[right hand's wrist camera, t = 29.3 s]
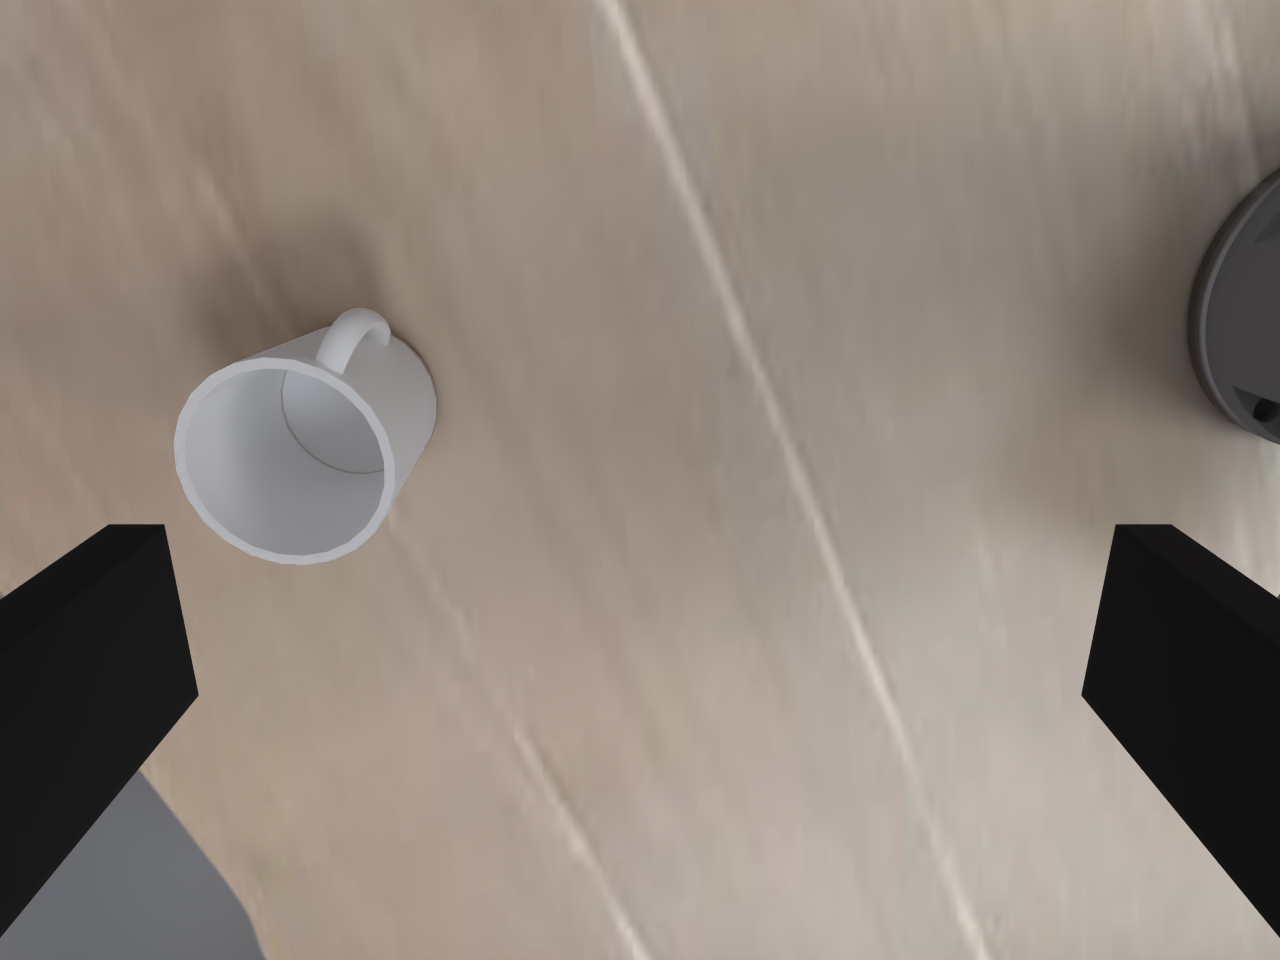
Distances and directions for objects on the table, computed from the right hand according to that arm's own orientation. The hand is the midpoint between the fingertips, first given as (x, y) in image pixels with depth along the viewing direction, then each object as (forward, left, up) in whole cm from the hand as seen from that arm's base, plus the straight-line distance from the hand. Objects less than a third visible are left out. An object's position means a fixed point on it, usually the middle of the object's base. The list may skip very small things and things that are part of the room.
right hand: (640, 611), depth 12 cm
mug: (+4, -14, -33) cm, 36 cm away
